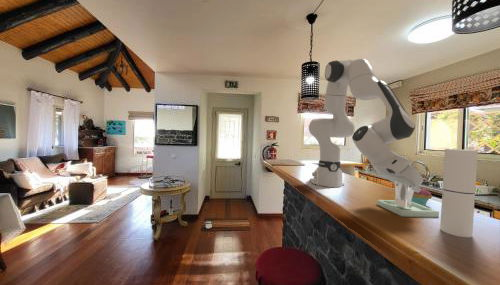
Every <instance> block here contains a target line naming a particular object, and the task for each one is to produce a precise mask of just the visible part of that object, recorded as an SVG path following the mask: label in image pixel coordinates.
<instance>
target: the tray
mask: <svg viewBox="0 0 500 285" xmlns="http://www.w3.org/2000/svg"><path fill="white" fill-rule="evenodd" d="M394 201H395V199H394V200H393V199H377V200H376V204H377V205H378V206H380V207H382V208H383V209H385V210H388V211H390V212H391V213H394V214H396V215H398V216H400V217H411V218H413V217H418V218H439V215H440V211H438V210H436V209H433V208H431V207H428V206H426V205H425V206H422V205H420V204H417V203H414V202H412V201H411V205H412V209H410V210H408V209H402V208H398V207H396V206H394V205H393V204H394Z"/></svg>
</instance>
